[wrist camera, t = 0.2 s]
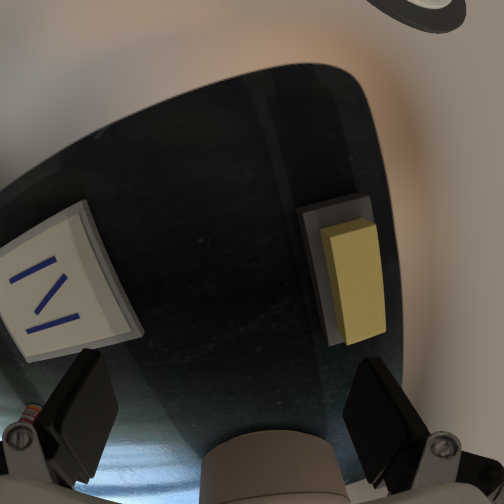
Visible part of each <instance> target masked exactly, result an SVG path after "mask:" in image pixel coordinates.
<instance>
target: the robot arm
mask: <svg viewBox="0 0 504 504" xmlns="http://www.w3.org/2000/svg"><path fill="white" fill-rule="evenodd" d="M407 1H409V2H411V3H413V4H416V5H418V6H421V7H424V8H429V9H440V8H443V7H445V6H446V5H448V4H449V3H450V2H451V1H452V0H407ZM117 413H118V403H117V400H116V397H115V394H114V391H113V387H112V384H111V380H110V377H109V373H108V369H107V366H106V362H105V358H104V356H103V355H102V354H100V352H99V350H95V349H89V348H83V349H82V351H81V352H80V353H79V355H78V356H77V358H76V359H75V360H74V362H73V363H72V365H71V366H70V368H69V369H68V371H67V372H66V373H65V375H64V376H63V378H62V379H61V381H60V382H59V384H58V385H57V387H56V388H55V390H54V391H53V393H52V394H51V396H50V397H49V399H48V400H47V402H46V404H45V405H44V407H43V408H42V410H41V412H40V413H39V415H38V416H37V418H36V420H35V421H34V423H33V425H31V424H29V423H27V422H22V421H20V422H15V423H12V424H10V425H9V426H7V428H6V429H5V430H4V432H3V435H2V441H0V504H121V503H117V502H113V501H109V500H105V499H101V498H98V497H94V496H91V495H87V494H84V493H81V492H78V491H76V490H75V488H74V485H75V482H76V481H79V482H82V483H85V484H88V482H89V479H90V478H93V477H94V475H95V473H96V470H97V467H98V464H99V461H100V459H101V456H102V453H103V450H104V447H105V445H106V442H107V439H108V437H109V434H110V431H111V429H112V426H113V424H114V421H115V419H116V416H117ZM343 419H344V422H345V424H346V427H347V429H348V432H349V434H350V437H351V439H352V442H353V445H354V447H355V450H356V452H357V455H358V458H359V460H360V463H361V465H362V468H363V471H364V473H365V476H366V479H367V481H368V483H370V484H373V487H374V489H379V488H382V487H387V489H388V491H389V492H388V495H387V497H383V498H380V499H376V500H372V501H368V502H364V503H360V504H504V467H503V466H502V465H501V463H499V462H498V461H496V460H494V459H490V458H486V457H482V456H479V455H475V454H471V453H468V452H465V451H461V443H460V441H459V439H458V438H457V437H456V436H454V435H453V434H452V433H449V432H445V431H439V432H435V433H432V434H430V433H429V431H428V429H427V427H426V425H425V424H424V422H423V421H422V419H421V418H420V416H419V414H418V413H417V412H416V410H415V408H414V407H413V405H412V404H411V402H410V401H409V399H408V398H407V396H406V395H405V393H404V391H403V390H402V388H401V387H400V385H399V384H398V382H397V381H396V379H395V378H394V377H393V375H392V374H391V372H390V371H389V369H388V368H387V366H386V365H385V363H384V362H383V360H382V359H381V358H380V357H368V358H364V360H363V362H360V363H359V365H358V368H357V371H356V374H355V377H354V381H353V384H352V387H351V390H350V393H349V396H348V398H347V401H346V404H345V407H344V410H343Z"/></svg>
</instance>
